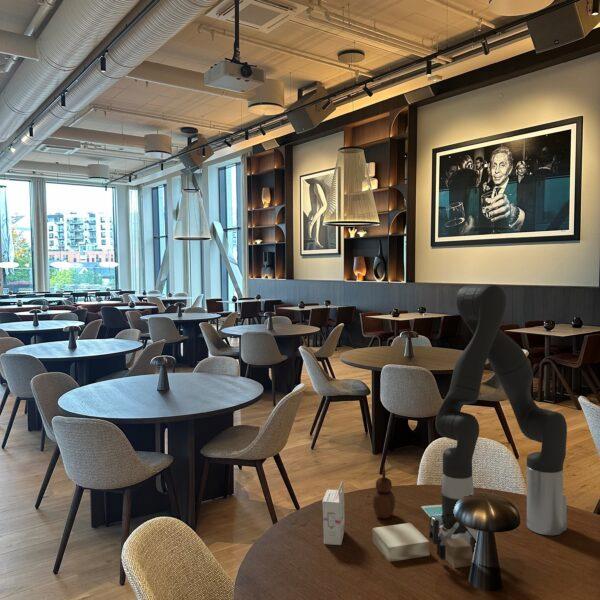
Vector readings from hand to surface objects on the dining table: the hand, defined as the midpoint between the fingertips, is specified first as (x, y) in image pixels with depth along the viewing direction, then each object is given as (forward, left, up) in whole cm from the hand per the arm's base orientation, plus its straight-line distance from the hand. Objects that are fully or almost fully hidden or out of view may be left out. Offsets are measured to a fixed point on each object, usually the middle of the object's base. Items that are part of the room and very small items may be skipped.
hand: (457, 556), depth 135 cm
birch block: (+11, -10, -2) cm, 15 cm away
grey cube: (-7, -10, -2) cm, 12 cm away
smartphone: (-8, -24, -2) cm, 25 cm away
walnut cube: (0, 0, -2) cm, 2 cm away
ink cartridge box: (+26, -20, -2) cm, 33 cm away
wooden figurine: (+8, -29, -2) cm, 30 cm away
